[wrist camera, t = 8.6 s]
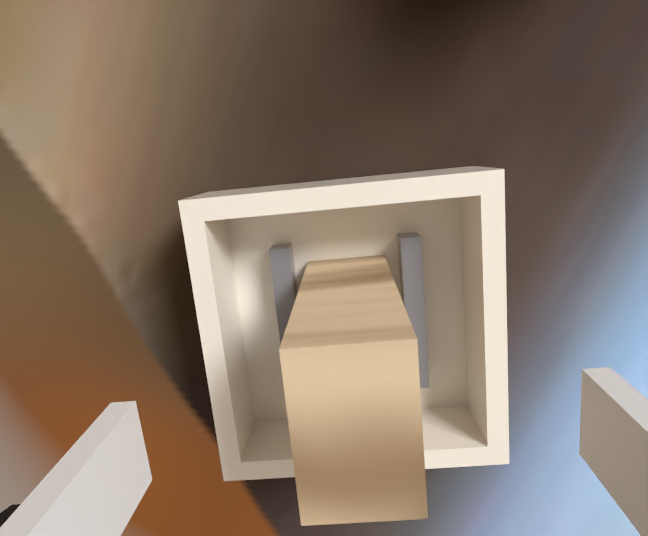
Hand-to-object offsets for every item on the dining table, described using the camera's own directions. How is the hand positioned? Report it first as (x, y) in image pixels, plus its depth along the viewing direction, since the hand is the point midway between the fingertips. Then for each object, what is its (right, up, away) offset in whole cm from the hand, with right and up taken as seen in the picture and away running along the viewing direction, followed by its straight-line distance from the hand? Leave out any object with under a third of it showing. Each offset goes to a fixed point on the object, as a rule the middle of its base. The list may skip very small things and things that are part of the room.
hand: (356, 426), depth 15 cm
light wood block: (0, +2, +12) cm, 12 cm away
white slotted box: (0, +3, +13) cm, 13 cm away
